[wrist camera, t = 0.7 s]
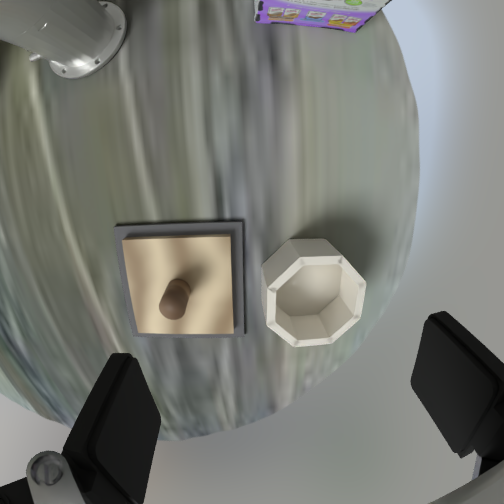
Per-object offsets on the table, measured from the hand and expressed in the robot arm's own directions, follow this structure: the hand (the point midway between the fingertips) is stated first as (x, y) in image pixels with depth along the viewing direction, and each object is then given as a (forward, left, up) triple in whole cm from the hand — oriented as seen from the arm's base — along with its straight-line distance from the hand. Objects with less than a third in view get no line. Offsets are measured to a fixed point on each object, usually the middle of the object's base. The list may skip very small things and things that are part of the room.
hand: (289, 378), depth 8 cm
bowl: (+8, -10, -30) cm, 33 cm away
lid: (-9, -10, -29) cm, 32 cm away
